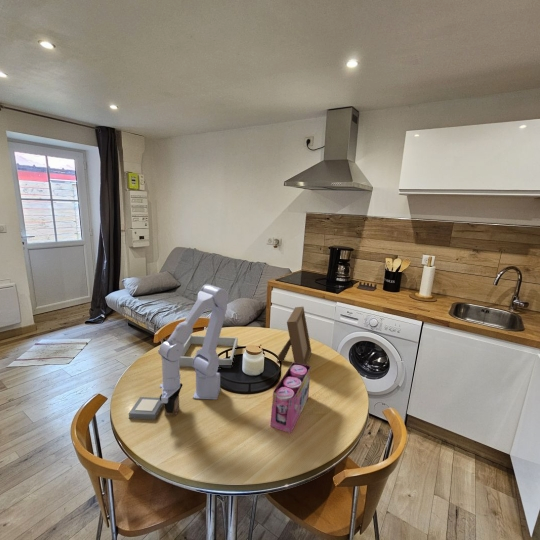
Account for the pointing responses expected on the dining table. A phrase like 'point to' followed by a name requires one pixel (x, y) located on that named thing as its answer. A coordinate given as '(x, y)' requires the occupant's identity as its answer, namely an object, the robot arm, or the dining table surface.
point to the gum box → (290, 397)
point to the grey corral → (200, 340)
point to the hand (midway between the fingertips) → (171, 407)
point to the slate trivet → (146, 408)
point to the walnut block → (176, 407)
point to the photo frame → (297, 338)
